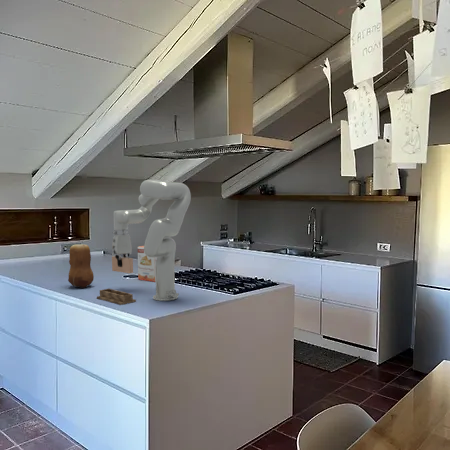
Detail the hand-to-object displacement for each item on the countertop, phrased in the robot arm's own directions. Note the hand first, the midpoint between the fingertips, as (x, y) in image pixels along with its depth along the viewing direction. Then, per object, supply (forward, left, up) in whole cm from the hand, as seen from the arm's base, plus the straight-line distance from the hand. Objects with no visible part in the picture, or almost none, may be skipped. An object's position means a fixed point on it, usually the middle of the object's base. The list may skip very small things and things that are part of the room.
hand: (122, 265), depth 254 cm
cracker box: (+14, -29, -14) cm, 35 cm away
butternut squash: (+27, +10, -14) cm, 32 cm away
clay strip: (0, 0, -3) cm, 3 cm away
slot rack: (-16, +15, -14) cm, 26 cm away
